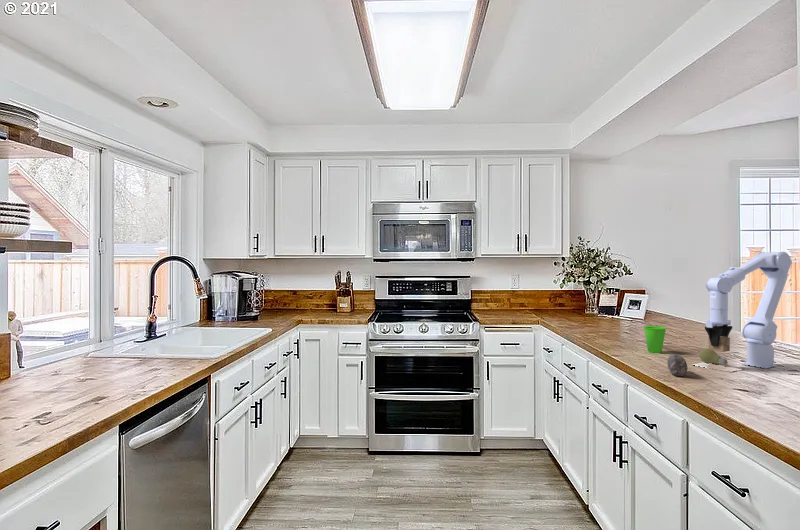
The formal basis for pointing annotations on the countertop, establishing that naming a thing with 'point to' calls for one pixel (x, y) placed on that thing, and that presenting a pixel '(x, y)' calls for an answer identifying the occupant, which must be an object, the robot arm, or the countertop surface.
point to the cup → (654, 338)
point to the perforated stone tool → (677, 365)
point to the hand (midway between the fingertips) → (718, 345)
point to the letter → (702, 364)
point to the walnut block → (721, 345)
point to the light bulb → (711, 357)
